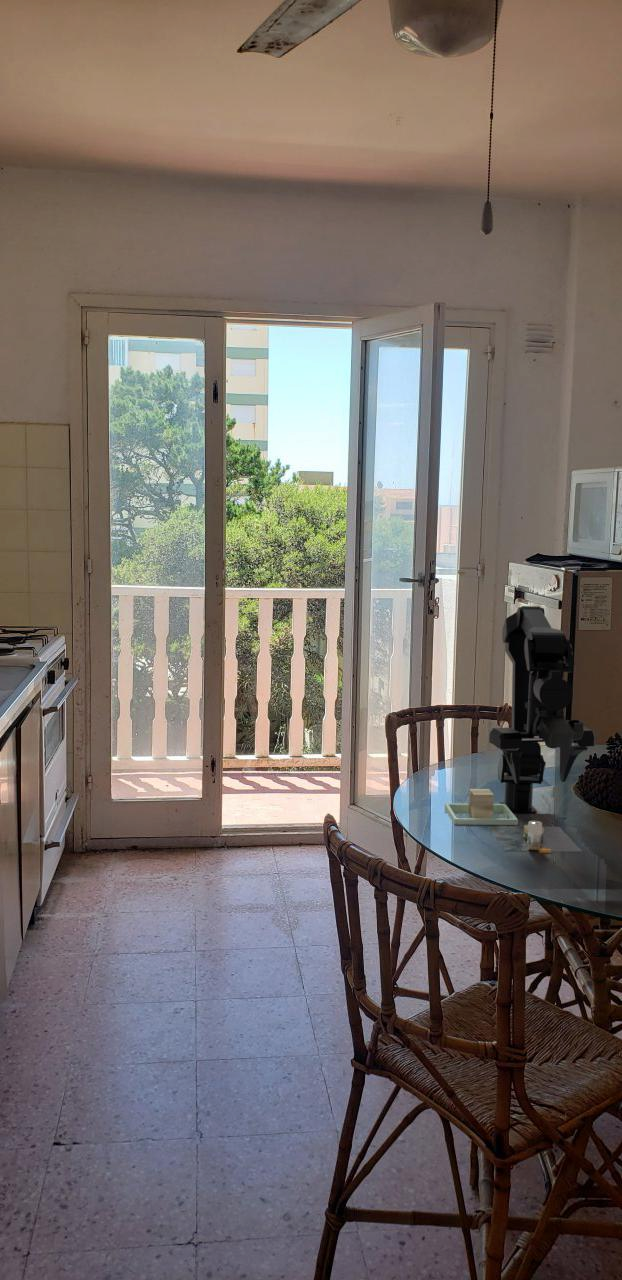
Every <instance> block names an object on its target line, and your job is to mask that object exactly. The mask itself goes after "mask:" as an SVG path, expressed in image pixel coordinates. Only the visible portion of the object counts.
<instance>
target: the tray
mask: <svg viewBox="0 0 622 1280" xmlns="http://www.w3.org/2000/svg"><path fill="white" fill-rule="evenodd" d="M468 811H469V803H444V814H448V816H449V818H450V819H451V821H452V823H453V825H462V826H463V825H467V826H468V825H470V826H471V825H473V826H475V825H476V826H477V825H480V826H481V825H482V826H483V825H484V826H485V825H488V826H489V825H492V826H493V825H495V826H502V825H503V826H504V825H505V826H506V825H507V826H517V825H518V824H519V819H518V818H517V817H516V815H515V813H512V812H511V810H510V809H509V808H508V807H507V805H506V804H499V803H493V815H497V814H498V815H499V814H500V815H506V816H507V817H508V818H494V817H493V818H471V817H469V818H468V817H465V818H464V817H460V818H459V817H457V816H456V814H459V815H461V814H468ZM468 815H469V814H468Z"/></svg>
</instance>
